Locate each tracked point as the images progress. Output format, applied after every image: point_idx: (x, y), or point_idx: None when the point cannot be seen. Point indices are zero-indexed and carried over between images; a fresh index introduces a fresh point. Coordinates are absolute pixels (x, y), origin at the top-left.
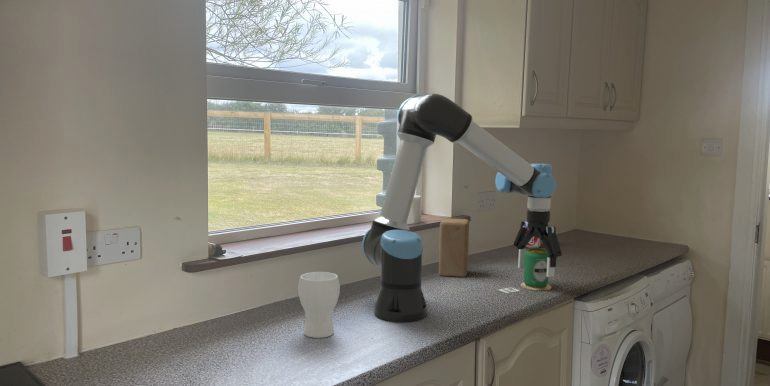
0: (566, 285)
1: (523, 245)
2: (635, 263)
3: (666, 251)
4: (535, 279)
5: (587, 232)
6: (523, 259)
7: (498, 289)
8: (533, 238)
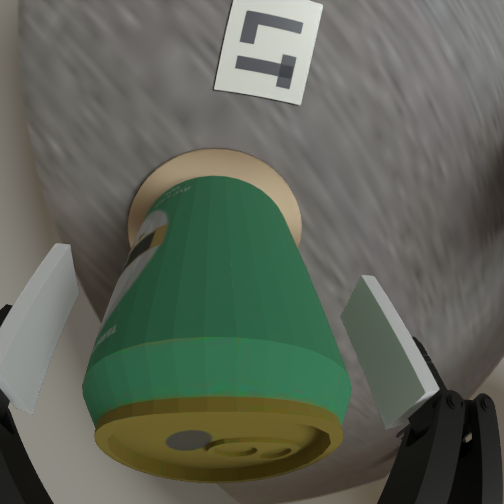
0: None
1: (416, 444)
2: (228, 483)
3: (245, 500)
4: (158, 206)
5: (366, 482)
6: (369, 347)
7: (321, 10)
8: None
